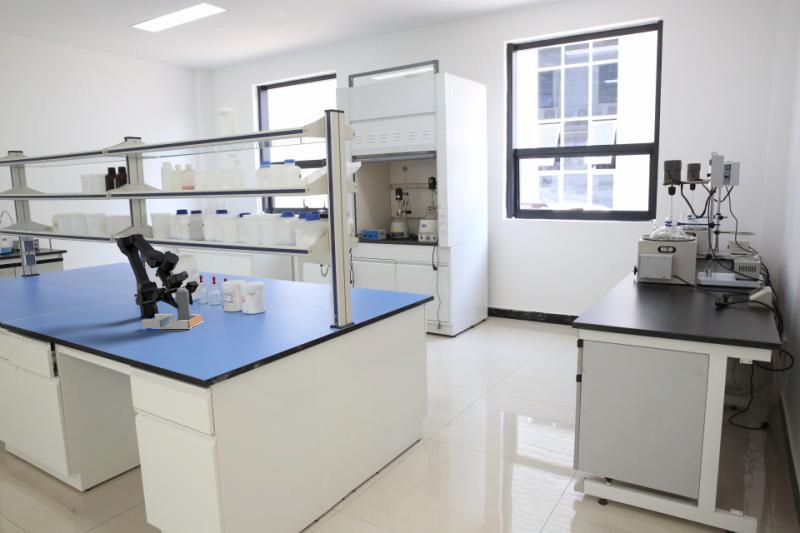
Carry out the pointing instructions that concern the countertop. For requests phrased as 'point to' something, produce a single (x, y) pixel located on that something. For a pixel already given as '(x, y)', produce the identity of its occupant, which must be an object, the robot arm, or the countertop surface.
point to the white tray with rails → (172, 322)
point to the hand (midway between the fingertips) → (185, 306)
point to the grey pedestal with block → (183, 304)
